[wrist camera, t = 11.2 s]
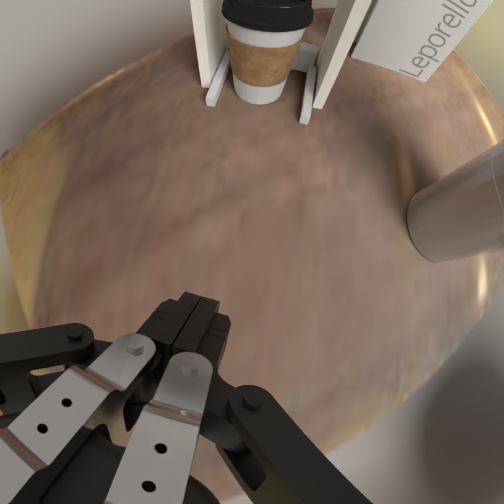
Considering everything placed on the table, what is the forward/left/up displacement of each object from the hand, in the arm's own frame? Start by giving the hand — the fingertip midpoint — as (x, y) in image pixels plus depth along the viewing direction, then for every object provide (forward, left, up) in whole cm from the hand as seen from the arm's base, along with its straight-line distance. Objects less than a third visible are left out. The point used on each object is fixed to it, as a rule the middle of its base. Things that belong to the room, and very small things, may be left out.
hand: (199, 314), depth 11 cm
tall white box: (-17, -41, -15) cm, 47 cm away
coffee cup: (+1, -25, -15) cm, 29 cm away
